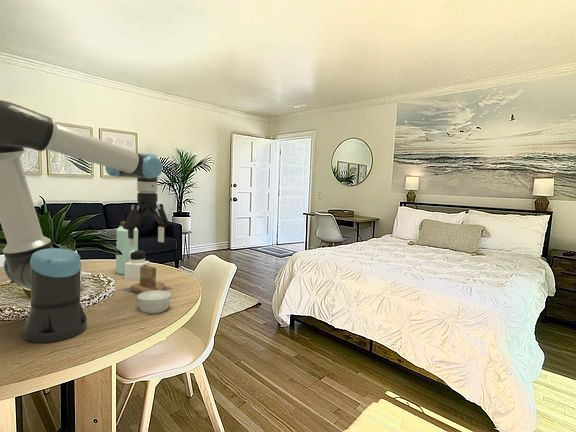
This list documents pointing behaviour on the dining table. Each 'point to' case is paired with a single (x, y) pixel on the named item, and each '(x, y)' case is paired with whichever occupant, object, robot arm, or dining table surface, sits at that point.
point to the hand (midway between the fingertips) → (147, 244)
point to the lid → (147, 281)
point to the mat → (138, 294)
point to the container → (135, 265)
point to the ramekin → (154, 301)
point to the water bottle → (123, 248)
